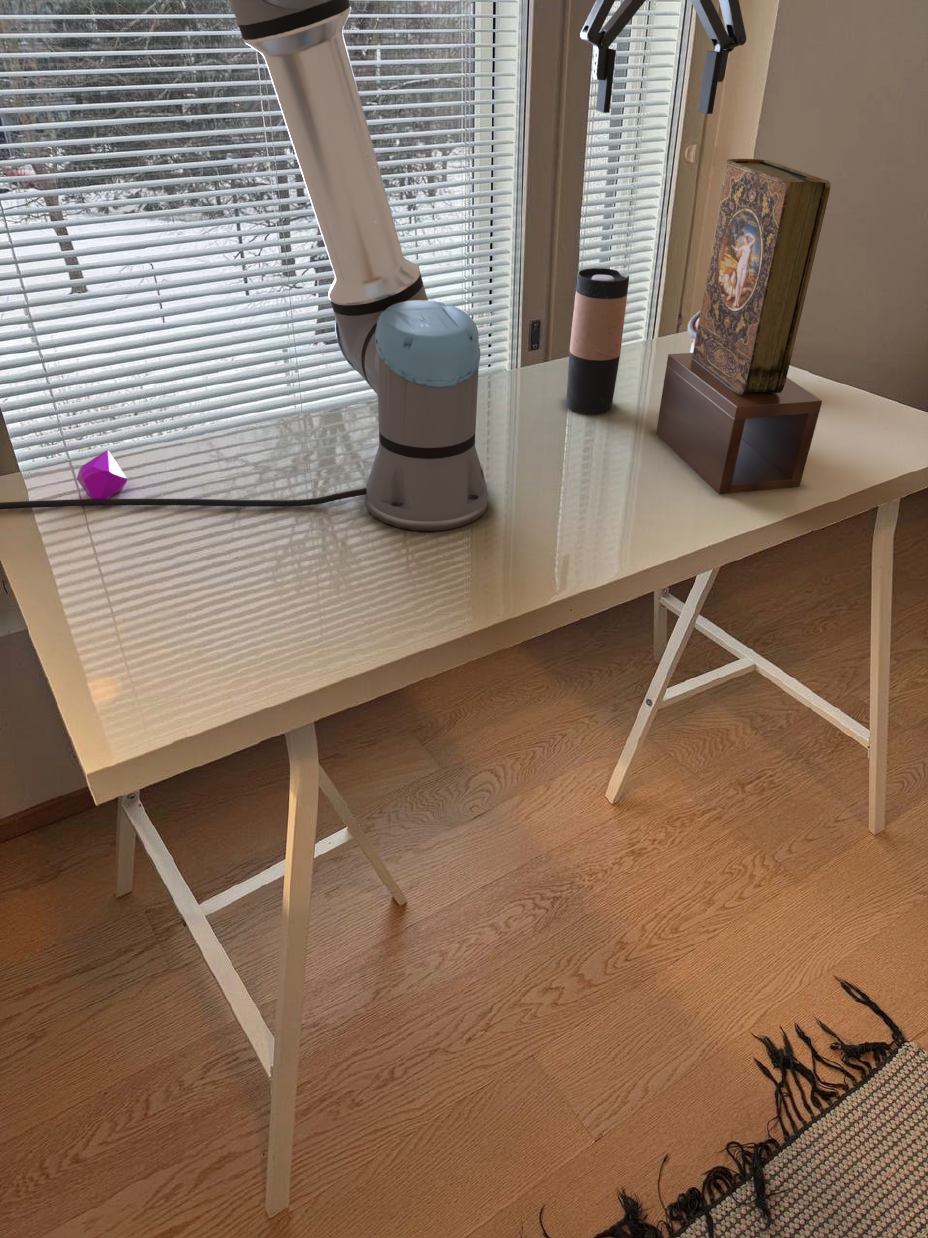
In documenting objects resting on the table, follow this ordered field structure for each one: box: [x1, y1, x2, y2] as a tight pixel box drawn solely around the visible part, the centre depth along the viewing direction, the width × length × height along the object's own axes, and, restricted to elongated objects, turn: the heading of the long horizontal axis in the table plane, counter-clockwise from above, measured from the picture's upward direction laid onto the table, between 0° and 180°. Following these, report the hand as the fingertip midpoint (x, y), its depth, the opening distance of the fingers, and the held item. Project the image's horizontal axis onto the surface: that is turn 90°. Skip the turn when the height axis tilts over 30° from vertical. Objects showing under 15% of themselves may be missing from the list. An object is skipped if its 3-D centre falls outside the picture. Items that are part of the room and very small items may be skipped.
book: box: [692, 158, 832, 395], centre depth 116 cm, size 16×6×25 cm, turn 13°
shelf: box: [655, 352, 823, 495], centre depth 126 cm, size 12×20×12 cm, turn 14°
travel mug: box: [565, 267, 630, 416], centre depth 139 cm, size 8×8×20 cm
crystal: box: [76, 449, 128, 507], centre depth 114 cm, size 5×5×5 cm
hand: (654, 112), depth 113 cm, fingers open, 13 cm apart
